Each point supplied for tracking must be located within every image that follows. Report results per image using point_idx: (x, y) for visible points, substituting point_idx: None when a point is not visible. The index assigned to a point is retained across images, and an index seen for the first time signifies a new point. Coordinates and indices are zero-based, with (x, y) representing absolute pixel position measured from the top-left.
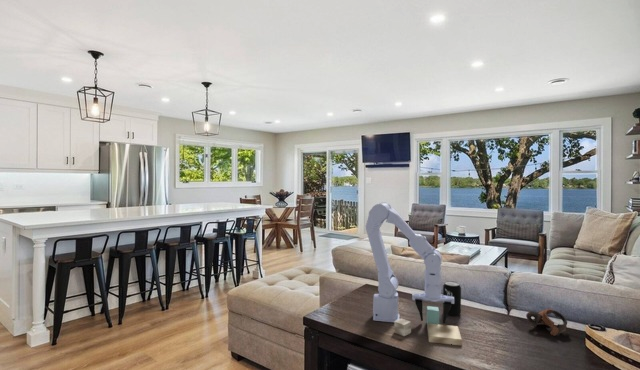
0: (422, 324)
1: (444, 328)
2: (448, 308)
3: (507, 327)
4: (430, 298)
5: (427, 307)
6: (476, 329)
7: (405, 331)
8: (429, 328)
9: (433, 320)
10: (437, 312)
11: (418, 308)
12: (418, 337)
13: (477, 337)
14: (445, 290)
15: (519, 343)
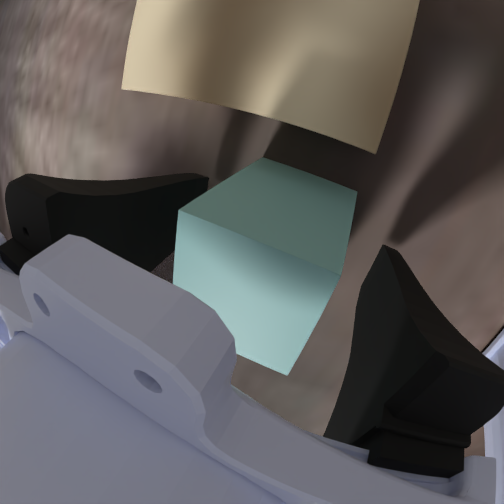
0: (380, 237)
1: (234, 25)
2: (52, 180)
3: (7, 169)
4: (191, 437)
5: (295, 348)
6: (67, 138)
7: None
8: (398, 26)
9: (290, 190)
10: (207, 210)
11: (456, 332)
12: (497, 15)
13: (83, 38)
14: None
15: (6, 42)
